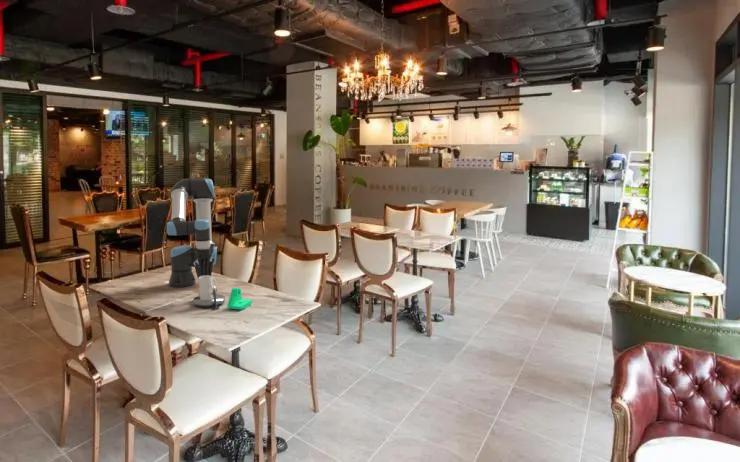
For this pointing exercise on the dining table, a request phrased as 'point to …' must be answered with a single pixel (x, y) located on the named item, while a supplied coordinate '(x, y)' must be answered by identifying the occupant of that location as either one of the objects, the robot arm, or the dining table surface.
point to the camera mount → (238, 300)
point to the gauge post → (212, 291)
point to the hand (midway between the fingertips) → (205, 289)
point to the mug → (205, 287)
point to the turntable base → (207, 306)
